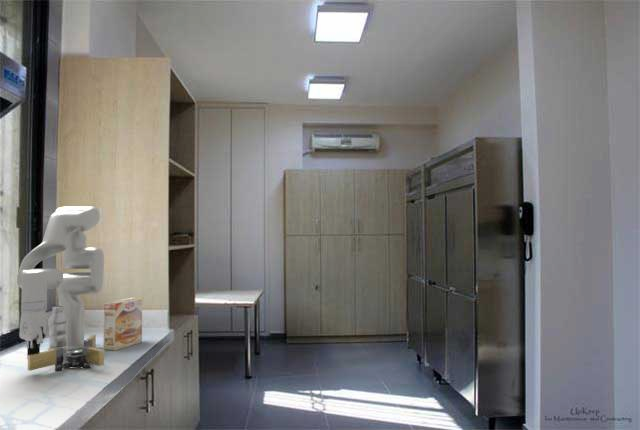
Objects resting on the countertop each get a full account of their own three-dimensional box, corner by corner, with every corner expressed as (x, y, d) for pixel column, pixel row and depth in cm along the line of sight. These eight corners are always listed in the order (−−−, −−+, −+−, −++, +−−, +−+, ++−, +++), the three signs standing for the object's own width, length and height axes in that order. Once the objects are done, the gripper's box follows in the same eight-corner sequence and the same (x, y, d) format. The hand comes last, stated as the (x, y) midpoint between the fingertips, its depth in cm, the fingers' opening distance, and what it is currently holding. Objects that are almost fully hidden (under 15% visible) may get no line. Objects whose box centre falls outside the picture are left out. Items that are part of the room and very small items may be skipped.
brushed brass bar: (60, 368, 154) (60, 347, 154) (64, 369, 152) (64, 348, 153) (26, 377, 145) (27, 354, 145) (30, 378, 143) (30, 355, 143)
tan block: (80, 368, 153) (81, 347, 154) (88, 366, 156) (88, 345, 156) (97, 373, 147) (97, 351, 148) (105, 371, 150) (105, 349, 150)
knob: (91, 360, 163) (91, 340, 163) (82, 361, 162) (83, 341, 162) (97, 353, 173) (97, 334, 174) (89, 353, 172) (89, 334, 173)
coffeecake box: (115, 350, 176) (115, 303, 177) (102, 349, 179) (102, 302, 180) (142, 342, 190) (143, 297, 191) (130, 340, 193) (130, 297, 194)
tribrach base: (56, 368, 154) (57, 353, 154) (81, 360, 163) (81, 346, 164) (74, 371, 151) (74, 356, 151) (98, 363, 160) (98, 348, 160)
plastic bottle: (71, 357, 168) (72, 305, 169) (55, 362, 162) (56, 308, 162) (59, 355, 170) (59, 304, 171) (43, 360, 164) (43, 307, 165)
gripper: (12, 306, 151) (11, 358, 151) (32, 309, 143) (31, 365, 142) (36, 302, 158) (35, 353, 157) (56, 306, 150) (55, 359, 149)
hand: (33, 359), depth 150 cm, fingers closed
